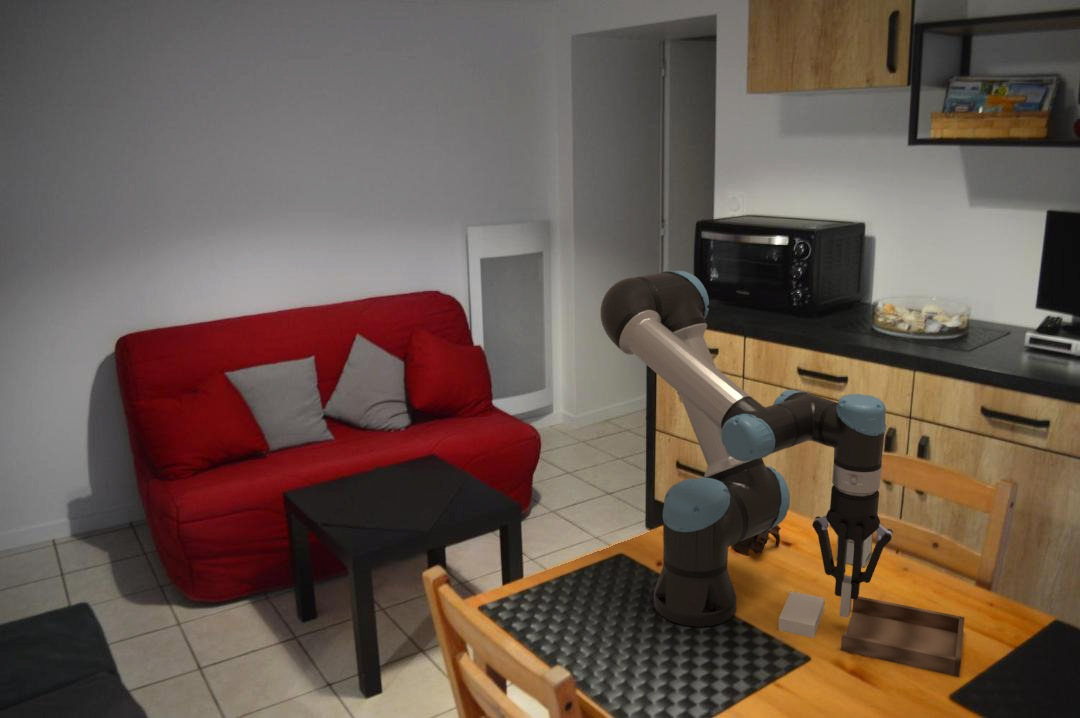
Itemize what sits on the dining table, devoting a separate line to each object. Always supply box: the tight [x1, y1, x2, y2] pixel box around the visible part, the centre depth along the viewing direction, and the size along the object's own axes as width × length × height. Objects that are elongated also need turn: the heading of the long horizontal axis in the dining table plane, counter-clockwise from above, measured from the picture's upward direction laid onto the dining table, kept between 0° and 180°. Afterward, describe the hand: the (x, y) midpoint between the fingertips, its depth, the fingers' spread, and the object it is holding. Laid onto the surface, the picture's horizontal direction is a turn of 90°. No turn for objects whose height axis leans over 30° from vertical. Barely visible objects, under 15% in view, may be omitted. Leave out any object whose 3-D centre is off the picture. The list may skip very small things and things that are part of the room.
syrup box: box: [836, 533, 874, 568], centre depth 180 cm, size 6×6×14 cm
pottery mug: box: [731, 524, 781, 556], centre depth 187 cm, size 12×10×8 cm
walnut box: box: [840, 595, 965, 678], centre depth 151 cm, size 18×14×4 cm
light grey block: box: [778, 591, 826, 639], centre depth 158 cm, size 6×10×3 cm, turn 153°
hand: (845, 612), depth 155 cm, fingers closed
